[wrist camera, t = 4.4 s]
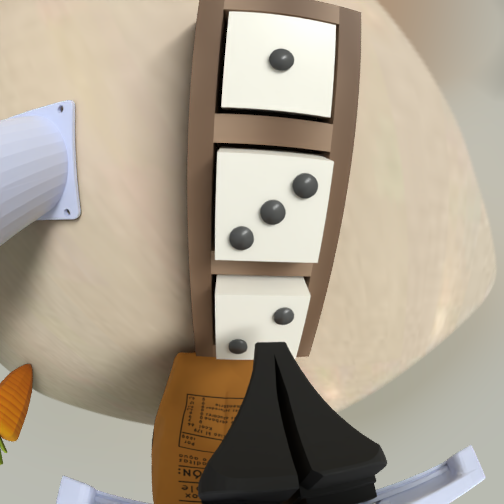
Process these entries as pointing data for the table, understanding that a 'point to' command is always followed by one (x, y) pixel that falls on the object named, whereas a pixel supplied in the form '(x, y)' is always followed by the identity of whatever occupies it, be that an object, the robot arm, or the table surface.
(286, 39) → the tile one
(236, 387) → the coffee package
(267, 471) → the robot arm
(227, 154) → the tile three
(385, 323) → the table surface
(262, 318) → the tile two
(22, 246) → the table surface
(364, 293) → the table surface
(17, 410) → the carrot
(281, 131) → the tile board
